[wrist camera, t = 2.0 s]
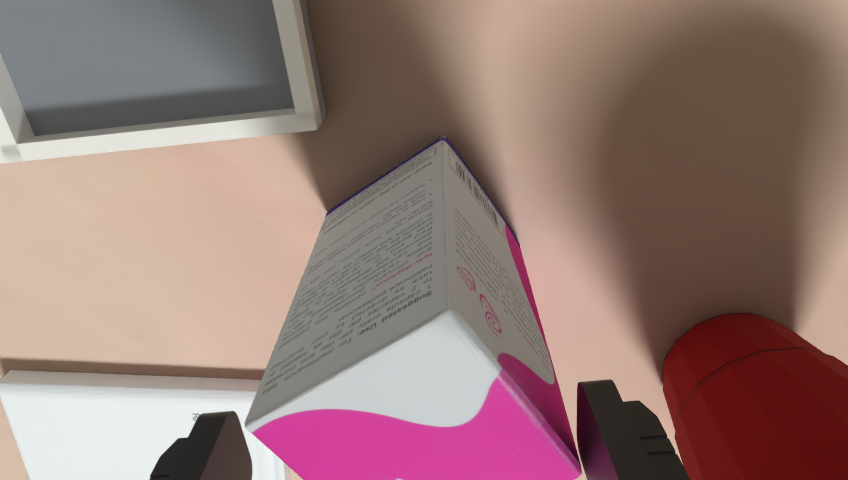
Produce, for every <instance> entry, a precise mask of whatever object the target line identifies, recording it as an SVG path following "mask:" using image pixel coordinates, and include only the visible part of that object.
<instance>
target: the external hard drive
mask: <svg viewBox="0 0 848 480" xmlns="http://www.w3.org/2000/svg"><path fill="white" fill-rule="evenodd" d="M260 382H261V380H252V379H227V378H204V377H179V376H153V375H127V374H103V373H78V372H52V371H24V370H10V371H9V372H8V373H7V374H6V375H5V376H4V377H3V378H1V379H0V399H1V402H2V404H3V407H4V410H5V413H6V415H7V418H8V421H9V424H10V427H11V429H12V432H13V434H14V437H15V440H16V443H17V446H18V449H19V452H20V454H21V457H22V459H23V463H24V466H25V468H26V471H27V474H28V476H29V480H150V475H151V473H152V471H153V469H154V467H155V465H156V463H157V461H158V460H159V458H160V456H161V455H162V454H163V453H164V452H165V451H166V450H167V449H168V448H169V447H170V446H171V445H172V444H173V443H174V442H175V441H176V440H177V439H178V438H187V437H188V436H189V434H190V432H191V430H192V428H193V426H194V424H195V422H196V420H197V418H198V417H199V415H201V414H203V413H213V412H225V411H234V412H236V413H237V415H238V418H239V421H240V424H241V427H242V430H243V433H244V437H245V440H246V443H247V446H248V449H249V452H250V456H251V460H252V480H290V470H289V466H288V465H286V464H285V463H284V462H283V461H282V460H281V459H280V458H279V457H278V456H276V455H275V454H274V453H273V452H272V451H271V450H270V449H269V448H267V447H266V446H265V445H264V444H263V443H262V442H261V441H260V440H258V439H257V438H256V437H255V436H254V435H253V434H252V433H250V432H249V431H248V430H247V429H246V428H245V424H244V423H245V420H246V418H247V415H248V413H249V410H250V408H251V406H252V403H253V400H254V398H255V395H256V393H257V390H258V388H259V385H260Z"/></svg>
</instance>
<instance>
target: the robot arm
mask: <svg viewBox="0 0 848 480" xmlns="http://www.w3.org/2000/svg"><path fill="white" fill-rule="evenodd" d="M577 442H578V449H579V454H580V458H581V461H582V464H583V467H584V471H585V474H586V477H587V480H690V478H689V476H688V474H687V472H686V470H685V468H684V466H683V465H682V463H681V461H680V459H679V457H678V455H676V453H675V449H674V448H673V446H672V444H671V442H670V440H669V439H668V438H667V434H666V432H665V430H664V429H663V427H662V425H661V423H660V421H659V419H658V417H657V416H656V415H655V414H654V413H653V412H652V411H650V410H649V409H648V408H647V407H646V406H645V405H644V404H642V403H641V402H640V401H628V402H623V401H622V399H621V397H620V394H619V392H618V390H617V388H616V386H615V384H614V382H613V381H612V380H599V381H587V382H579V383H578V387H577ZM150 480H252V460H251V456H250V452H249V449H248V446H247V443H246V440H245V437H244V433H243V430H242V427H241V424H240V421H239V418H238V415H237V413H236V412H234V411H225V412H213V413H203V414H201V415H199V417H198V418H197V420H196V422H195V424H194V426H193V428H192V430H191V432H190V434H189V436H188V437H187V438H178V439H177V440H176V441H175V442H174V443H173V444H172V445H171V446H170V447H169V448H168V449H167V450H166V451H165V452H164V453H163V454H162V455H161V456H160V458H159V460H158V461H157V463H156V465H155V467H154V469H153V471H152V473H151V475H150Z"/></svg>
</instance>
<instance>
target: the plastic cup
mask: <svg viewBox="0 0 848 480" xmlns="http://www.w3.org/2000/svg"><path fill="white" fill-rule="evenodd" d="M662 380H663V384H664V386H663V392H664V395H665V399H666V402H667V405H668V408H669V412H670V415H671V418H672V421H673V425H674V428H675V431H676V432H675V440H676V443H677V446H678V450H679V453H680V456H681V459H682V463H683V466H684V468H685V470H686V472H687V474H688V476H689V478H690V480H848V365H846V364H844V363H843V362H841V361H840V360H838V359H837V358H835V357H834V356H831V355H827V354H825V353H823V352H822V351H820V350H819V349H817V348H816V347H815V346H813V345H812V344H810V343H809V342H807V341H806V340H805V339H803V338H802V337H800V336H799V335H797V334H796V333H794V332H793V331H792V330H790V329H789V328H787V327H786V326H784V325H782V324H778V323H776V322H774V321H773V320H771V319H767V318H764V317H761V316H757V315H754V314H751V313H742V314H727V315H721V316H718V317H716V318H713V319H710V320H708V321H705V322H702V323H700V324H697V325H696V326H695V327H693V328H692V329H691V330H690V331H688V332H687V333H686V334H684V335H683V336H682V337H681V338H679V339H678V340H677V341H676V343H675V344H674V346H673V347H672V349H671V351H670V352H669V354H668V355H667V357H666V358H665V361H664V369H663V377H662Z"/></svg>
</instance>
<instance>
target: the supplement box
mask: <svg viewBox="0 0 848 480" xmlns="http://www.w3.org/2000/svg"><path fill="white" fill-rule="evenodd" d="M244 424H245V428H246V429H247V430H248V431H249V432H250V433H252V434H253V435H254V436H255V437H256V438H257V439H258V440H260V441H261V442H262V443H263V444H264V445H265V446H266V447H267V448H269V449H270V450H271V451H272V452H273V453H274V454H275V455H276V456H278V457H279V458H280V459H281V460H282V461H283V462H284V463H285V464H286V465H288V466H289V467H290V468H291V469H292V470H293V471H294V472H296V473H297V474H298V475H299V476H300V477H301V478H302V479H304V480H574V479H576V478H578V477H579V476H580V475H581V474H582V470H581V465H580V461H579V457H578V453H577V450H576V446H575V442H574V439H573V435H572V432H571V428H570V425H569V421H568V418H567V414H566V411H565V407H564V403H563V399H562V396H561V392H560V388H559V385H558V382H557V378H556V375H555V371H554V367H553V364H552V360H551V357H550V353H549V350H548V347H547V343H546V339H545V336H544V332H543V328H542V325H541V322H540V318H539V314H538V311H537V307H536V303H535V300H534V296H533V293H532V289H531V285H530V281H529V278H528V274H527V271H526V267H525V264H524V260H523V257H522V253H521V249H520V244H519V242H518V240H517V238H516V237H515V235H514V233H513V232H512V230H511V229H510V227H509V226H508V224H507V223H506V221H505V220H504V218H503V217H502V215H501V214H500V212H499V211H498V210H497V208H496V207H495V205H494V204H493V202H492V201H491V199H490V198H489V197H488V195H487V194H486V192H485V191H484V189H483V188H482V186H481V185H480V184H479V182H478V181H477V179H476V178H475V176H474V175H473V174H472V172H471V171H470V169H469V168H468V167H467V165H466V164H465V162H464V161H463V160H462V158H461V157H460V155H459V154H458V153H457V151H456V150H455V149H454V147H453V146H452V145H451V143H450V142H449V140H448V139H447V138H446V136H441V137H440V138H439V139H437V140H435V141H433V142H432V143H430V144H429V145H427V146H426V147H424V148H423V149H422V150H420V151H418V152H417V153H415V154H414V155H413V156H411V157H410V158H408V159H407V160H405V161H404V162H402V163H401V164H399V165H398V166H396V167H395V168H393V169H392V170H390V171H389V172H387V173H386V174H384V175H383V176H381V177H379V178H378V179H376V180H375V181H374V182H372V183H370V184H369V185H367V186H366V187H364V188H362V189H361V190H359V191H358V192H356V193H355V194H353V195H352V196H351V197H349V198H347V199H346V200H344V201H343V202H341V203H340V204H338V205H337V206H335V207H334V208H332V209H331V210H330V211H329V212H328V213H327V214H326V217H325V220H324V222H323V225H322V227H321V230H320V232H319V235H318V238H317V240H316V243H315V246H314V248H313V251H312V253H311V256H310V259H309V261H308V264H307V266H306V269H305V271H304V274H303V276H302V278H301V281H300V283H299V286H298V289H297V291H296V294H295V296H294V299H293V301H292V304H291V306H290V309H289V312H288V314H287V317H286V319H285V322H284V324H283V327H282V329H281V332H280V334H279V337H278V340H277V342H276V345H275V347H274V350H273V352H272V355H271V357H270V360H269V362H268V365H267V367H266V370H265V372H264V375H263V377H262V380H261V382H260V385H259V388H258V390H257V393H256V395H255V398H254V400H253V403H252V406H251V408H250V410H249V413H248V415H247V418H246V420H245V423H244Z"/></svg>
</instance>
